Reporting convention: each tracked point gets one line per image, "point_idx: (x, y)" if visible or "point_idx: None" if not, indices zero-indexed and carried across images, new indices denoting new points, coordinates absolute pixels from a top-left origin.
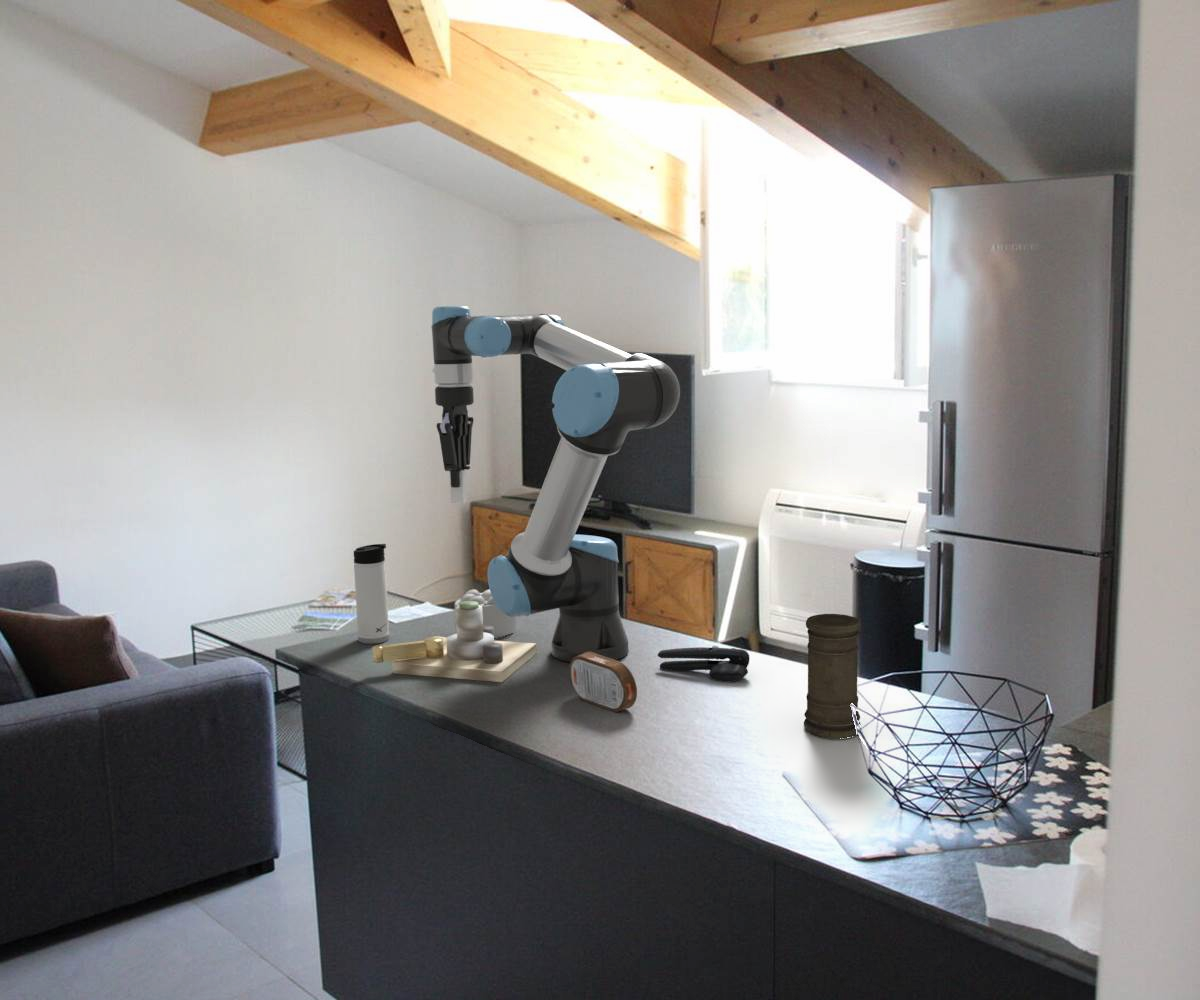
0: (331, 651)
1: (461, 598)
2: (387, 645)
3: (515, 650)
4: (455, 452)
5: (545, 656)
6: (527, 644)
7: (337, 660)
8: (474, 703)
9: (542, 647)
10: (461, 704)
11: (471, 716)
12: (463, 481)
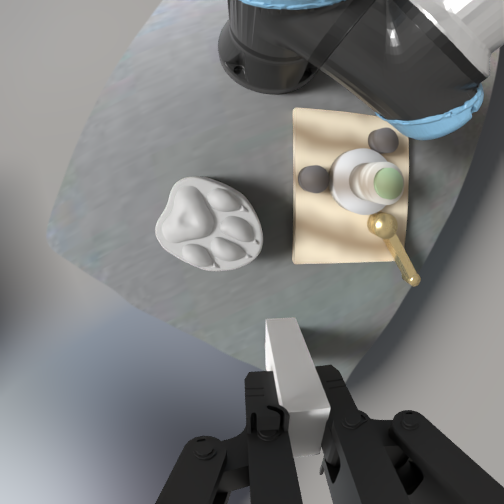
0: (332, 358)
1: (217, 266)
2: (410, 272)
3: (332, 126)
4: (451, 482)
5: (301, 96)
6: (302, 118)
7: (361, 336)
8: (451, 137)
9: (263, 112)
10: (456, 148)
11: (472, 132)
12: (304, 370)
